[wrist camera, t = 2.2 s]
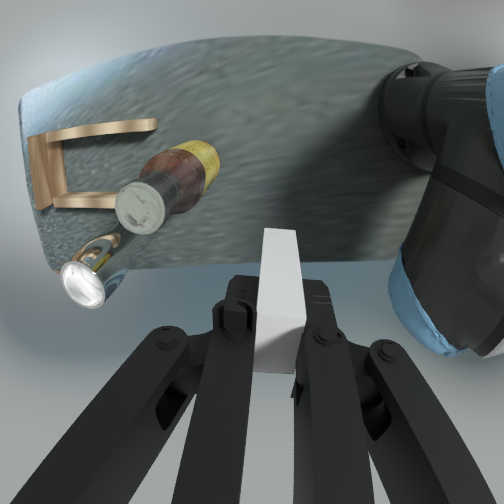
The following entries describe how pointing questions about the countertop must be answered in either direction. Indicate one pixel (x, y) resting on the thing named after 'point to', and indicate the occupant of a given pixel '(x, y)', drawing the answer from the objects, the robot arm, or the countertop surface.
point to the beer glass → (101, 265)
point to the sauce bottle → (167, 186)
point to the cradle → (53, 169)
